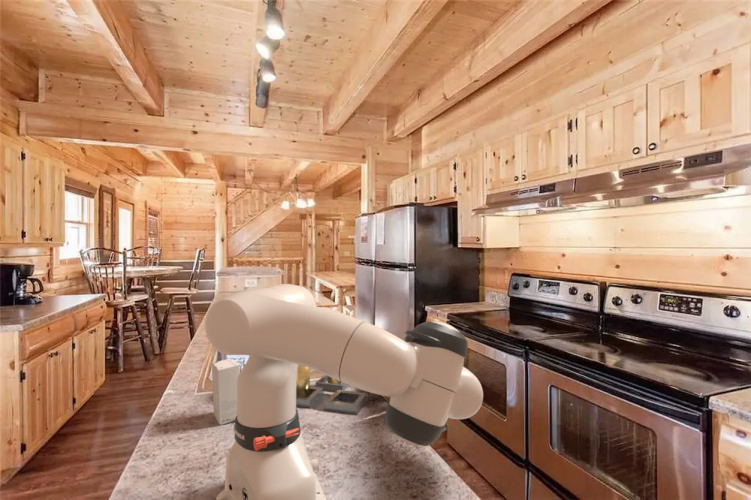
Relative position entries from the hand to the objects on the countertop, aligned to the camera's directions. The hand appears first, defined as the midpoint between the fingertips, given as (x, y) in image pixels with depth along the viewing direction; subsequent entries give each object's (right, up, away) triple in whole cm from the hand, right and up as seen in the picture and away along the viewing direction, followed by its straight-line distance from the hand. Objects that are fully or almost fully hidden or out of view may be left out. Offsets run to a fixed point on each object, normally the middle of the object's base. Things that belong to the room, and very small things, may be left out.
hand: (357, 367), depth 121 cm
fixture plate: (-9, -8, -11) cm, 16 cm away
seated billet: (-16, -7, -9) cm, 19 cm away
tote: (-8, -7, +2) cm, 11 cm away
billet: (-8, -7, +2) cm, 10 cm away
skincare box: (-35, -8, -19) cm, 40 cm away
